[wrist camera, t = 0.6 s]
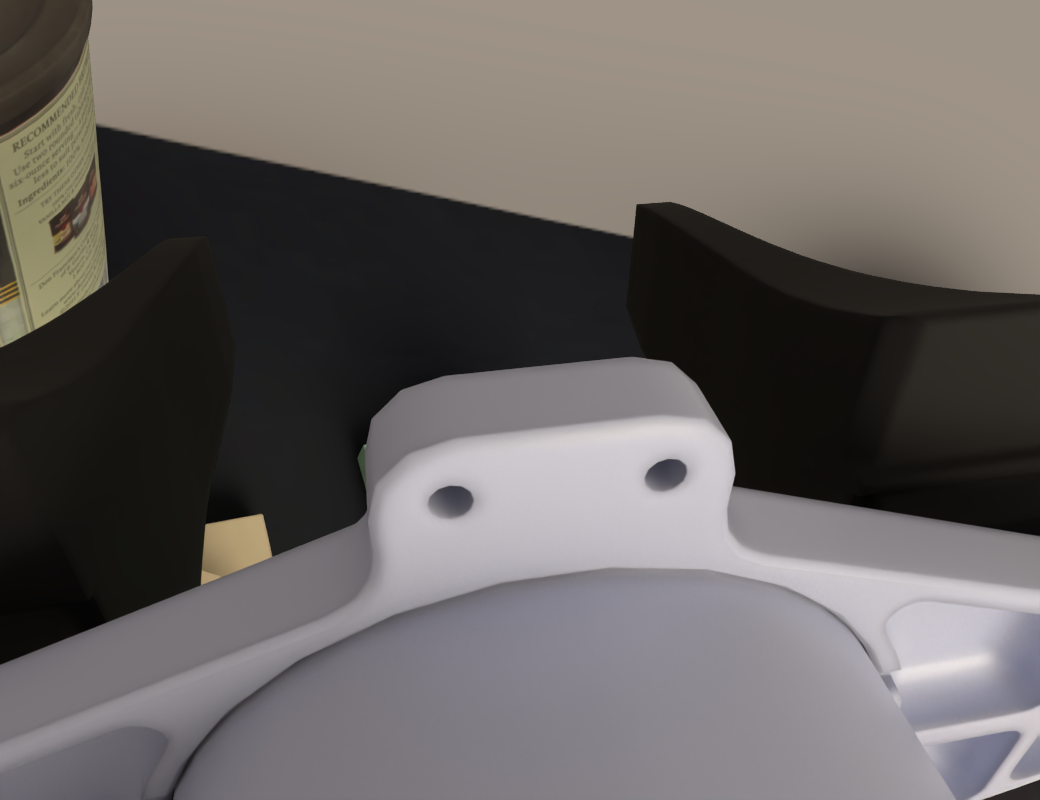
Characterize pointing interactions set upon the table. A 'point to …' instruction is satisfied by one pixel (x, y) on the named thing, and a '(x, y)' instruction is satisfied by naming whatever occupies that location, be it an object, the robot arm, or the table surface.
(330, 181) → the table surface
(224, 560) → the button housing
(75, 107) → the coffee can
